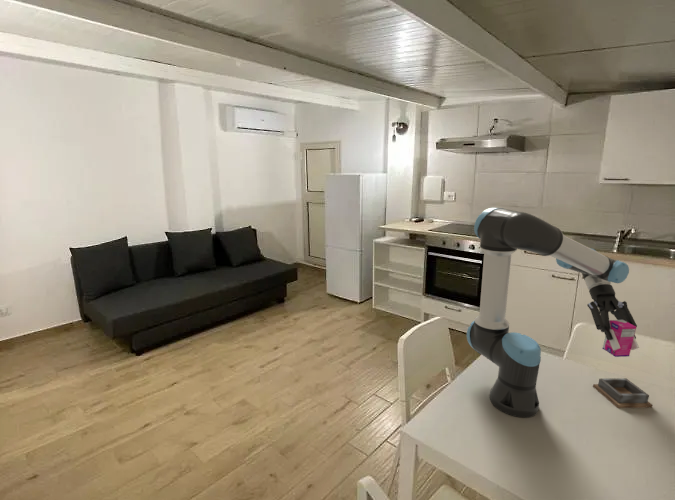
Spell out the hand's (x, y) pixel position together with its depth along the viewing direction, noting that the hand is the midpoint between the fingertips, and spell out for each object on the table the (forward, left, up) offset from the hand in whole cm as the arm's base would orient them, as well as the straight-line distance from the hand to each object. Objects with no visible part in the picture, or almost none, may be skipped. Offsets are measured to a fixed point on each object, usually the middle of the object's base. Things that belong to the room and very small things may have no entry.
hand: (626, 348), depth 129 cm
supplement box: (0, +4, -4) cm, 5 cm away
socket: (+1, -1, -18) cm, 18 cm away
